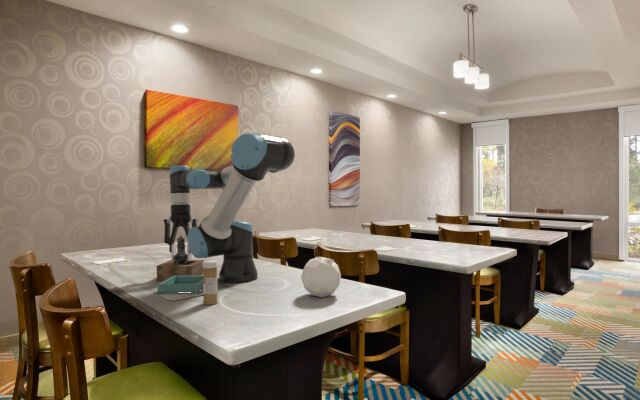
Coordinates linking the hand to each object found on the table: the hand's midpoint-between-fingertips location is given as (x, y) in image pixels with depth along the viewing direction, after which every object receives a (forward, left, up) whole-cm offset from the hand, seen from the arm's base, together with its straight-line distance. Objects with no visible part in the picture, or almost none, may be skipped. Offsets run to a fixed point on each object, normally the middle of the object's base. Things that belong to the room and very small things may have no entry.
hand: (181, 260), depth 166 cm
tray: (-9, +18, -7) cm, 21 cm away
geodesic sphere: (-59, +25, -7) cm, 64 cm away
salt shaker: (0, 0, -2) cm, 2 cm away
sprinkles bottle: (-24, +36, -7) cm, 44 cm away
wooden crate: (0, 0, -7) cm, 7 cm away
